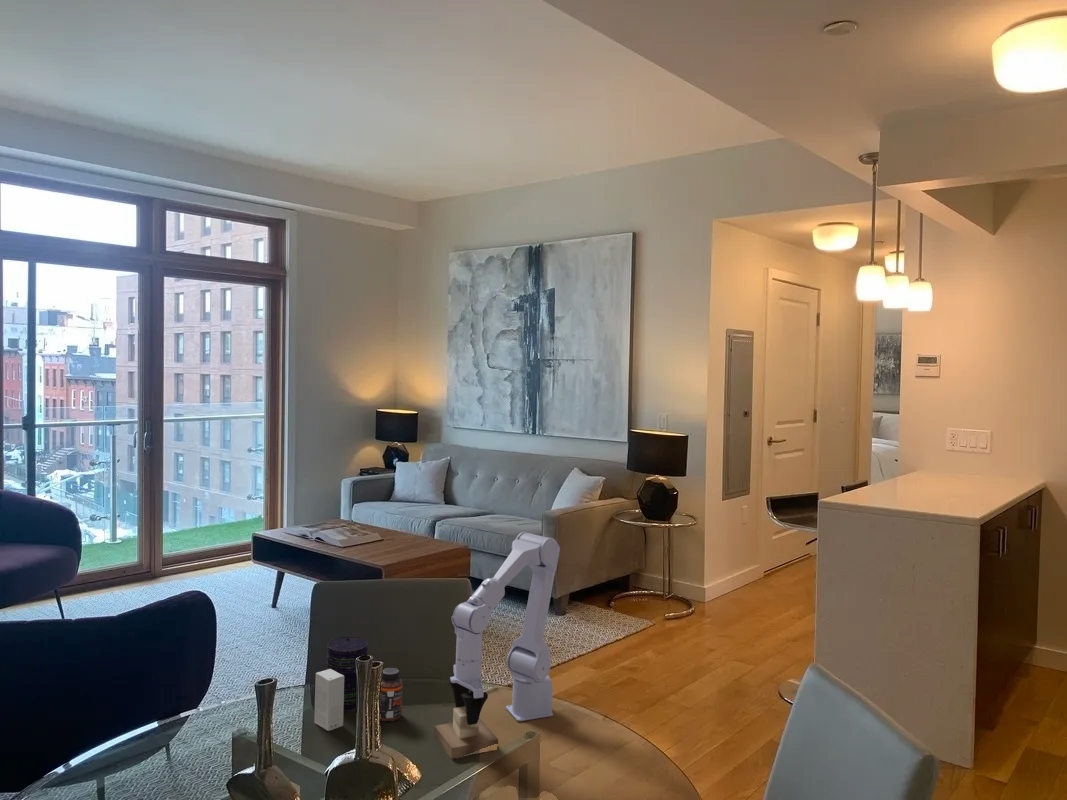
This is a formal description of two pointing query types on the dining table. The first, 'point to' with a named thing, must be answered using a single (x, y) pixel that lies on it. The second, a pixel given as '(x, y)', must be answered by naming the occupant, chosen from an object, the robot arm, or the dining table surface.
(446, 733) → the walnut block
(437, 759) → the dining table surface
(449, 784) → the dining table surface
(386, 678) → the supplement bottle
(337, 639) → the storage jar
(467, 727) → the maple block
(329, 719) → the skincare box
